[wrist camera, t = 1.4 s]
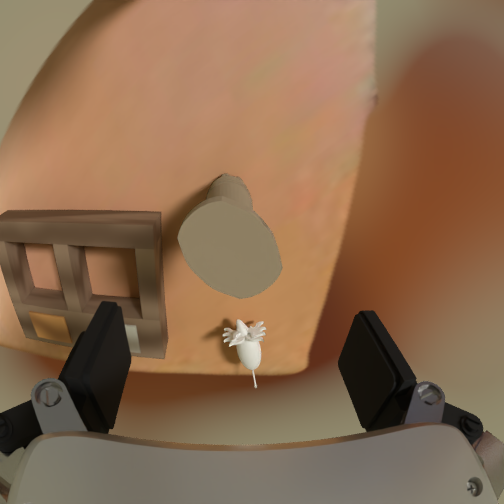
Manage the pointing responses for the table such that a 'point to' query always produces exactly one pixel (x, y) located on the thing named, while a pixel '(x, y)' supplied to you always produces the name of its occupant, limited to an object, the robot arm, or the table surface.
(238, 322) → the white animal figurine
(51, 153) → the table surface
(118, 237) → the socket block
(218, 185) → the handle
